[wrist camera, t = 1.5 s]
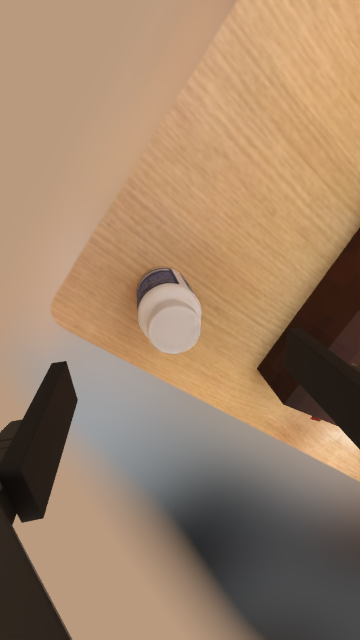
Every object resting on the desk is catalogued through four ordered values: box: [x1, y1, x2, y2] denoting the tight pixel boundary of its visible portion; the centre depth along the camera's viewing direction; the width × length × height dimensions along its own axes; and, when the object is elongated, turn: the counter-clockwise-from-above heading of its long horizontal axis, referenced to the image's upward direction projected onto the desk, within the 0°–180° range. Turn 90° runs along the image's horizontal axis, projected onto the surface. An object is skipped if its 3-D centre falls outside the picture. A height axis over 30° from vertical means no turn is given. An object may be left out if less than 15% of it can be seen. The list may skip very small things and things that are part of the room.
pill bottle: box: [137, 267, 202, 354], centre depth 24 cm, size 5×5×10 cm
